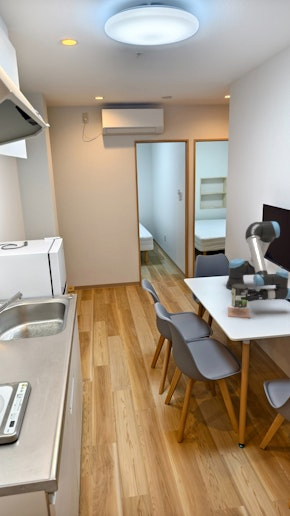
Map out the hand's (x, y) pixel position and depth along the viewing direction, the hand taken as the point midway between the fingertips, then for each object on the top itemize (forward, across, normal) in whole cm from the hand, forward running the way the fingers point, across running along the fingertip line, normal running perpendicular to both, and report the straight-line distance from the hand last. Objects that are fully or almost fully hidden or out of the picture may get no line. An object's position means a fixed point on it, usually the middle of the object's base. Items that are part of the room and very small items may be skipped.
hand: (233, 295), depth 228 cm
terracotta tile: (-4, 0, -13) cm, 14 cm away
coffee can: (-4, 0, -8) cm, 9 cm away
